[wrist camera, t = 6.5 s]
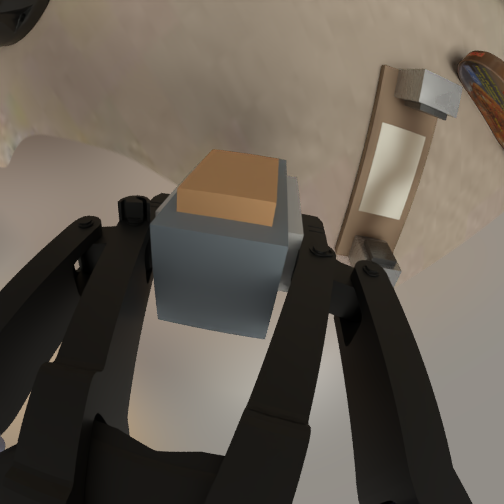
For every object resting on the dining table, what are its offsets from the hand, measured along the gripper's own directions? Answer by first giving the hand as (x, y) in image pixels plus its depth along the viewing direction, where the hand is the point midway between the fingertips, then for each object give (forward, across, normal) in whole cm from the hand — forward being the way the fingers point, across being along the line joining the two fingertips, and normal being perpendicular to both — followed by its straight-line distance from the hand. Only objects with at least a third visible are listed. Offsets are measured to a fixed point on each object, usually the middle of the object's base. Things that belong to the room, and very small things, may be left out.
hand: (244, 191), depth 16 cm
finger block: (0, 0, 0) cm, 0 cm away
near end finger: (+13, +14, +9) cm, 22 cm away
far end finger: (+13, +14, -10) cm, 22 cm away
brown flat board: (+14, +14, 0) cm, 20 cm away
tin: (+15, +25, +12) cm, 31 cm away
